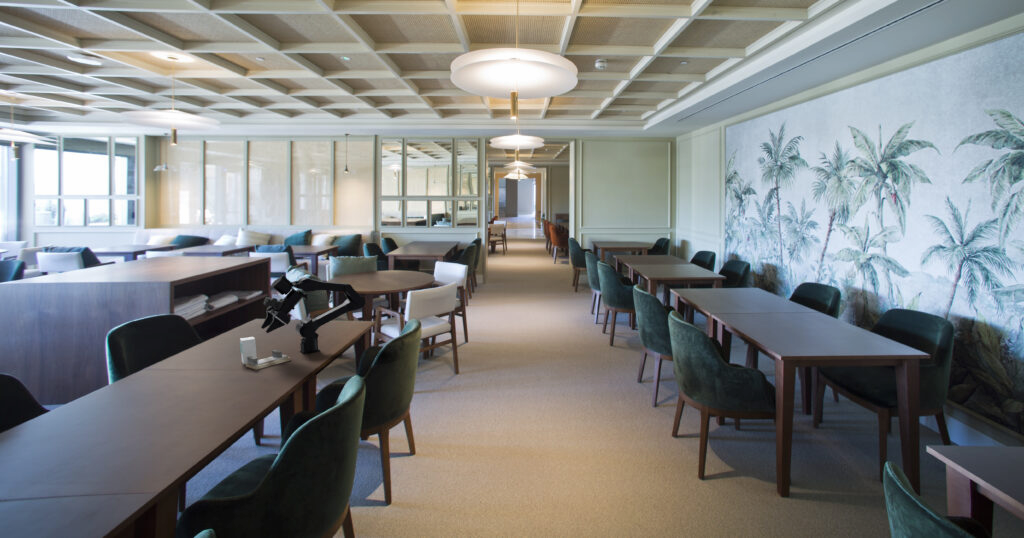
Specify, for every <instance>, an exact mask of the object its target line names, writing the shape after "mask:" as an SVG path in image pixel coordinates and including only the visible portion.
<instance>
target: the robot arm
mask: <svg viewBox="0 0 1024 538" xmlns="http://www.w3.org/2000/svg"><path fill="white" fill-rule="evenodd" d="M270 287H271V288H272V289H273V290H275V291H276V292H278V294H280V295H281V296H283V295H286V296H285V297H283V298H280V299H279V300H278V298H275V297H272V298H271V297H268V296H265V297H264V301H263V303H262V304H263V305H264V306H266V310H265V312H266V317H265V319H264V321H263V322H262V325H261V327H260V328H261V329H263V330H264V329H266V328H267V329H266V330H265V333H266V334H270V333H271V332H274V331H275V330H277V329H279V328H282V327H285V326H286V325H289V324H290V322H291V318H290V317H289V314H290V312H291V311H294V310H295V309H296V308H295V307H296V306H297V305H298V303H300V301H301V300H302V299H303V300H306V301H308V300H309V299H308V293H309V292H316V291H327V292H328V291H330V292H342V293H344V295H345V297H346V300H344V302H343V303H341V304H339V305H338V306H336V307H333V308H332V309H329V310H328V311H326V312H324V313H322V314H320V315H318V316H316V317H315V318H314V317H313V318H311V317H309V316H307V317H305V318H303V319H301V320H299V322H298V323H296V325H295V332H296V333H297V334H298V335H299V336H300V337H301V339H300V350H299V353H301V354H305V355H309V354H313V353H318V352H320V351H321V349H320V348H319V343H318V342H319V341H318V340H319V333H317V331H318V330H319V328H321V327H322V326H324V325H325V324H328V323H329V322H332V321H333V320H335V319H337V318H339V317H342V315H346V314H347V313H349V312H353V311H357V310H361V309H363V308H364V307H365V306H366V299H365V298H364V297H363V296H361V295H360V294H359V293H358V292H357V291H356V290H355V289H354V287H353V286H352V284H351V283H350V284H349V283H346V282H343V283H342V282H332V281H331V282H330V281H320V280H316V279H312V278H309V277H303V276H302V277H300V278H298V280H296V281H290V280H289V279H288V278H287V277H286V276H285V275H284V274H281V276H280V277H278V278H277V279H275V280H274V281H273V282H272V283H271V285H270ZM295 288H296V289H295ZM302 291H303V292H305V293H303V292H302ZM306 292H308V293H306Z"/></svg>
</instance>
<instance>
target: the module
mask: <svg viewBox="0 0 1024 538" xmlns="http://www.w3.org/2000/svg"><path fill="white" fill-rule="evenodd" d="M239 349H240V351H239V352H240V356H241V363H242V365H246V363H248V362H247V357H249V356H252V357H255V358H257V359H258V357H257V346H256V338H255V336H248V337H240V338H239Z"/></svg>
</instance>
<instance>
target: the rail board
mask: <svg viewBox="0 0 1024 538" xmlns="http://www.w3.org/2000/svg"><path fill="white" fill-rule="evenodd" d="M271 355H272V356H269V357H265V358H261V359H258V357H257V358H255V357H252V356H249V357H247V362H248V363H246V364H245V367H246V368H250V369H253V370H261V369H265V368H267V367H272V366H275V365H278V364H281V363H285V362H289V361H291V356H289V355H286V354H283V351H281V350H276V349H274V350H272V351H271Z"/></svg>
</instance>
